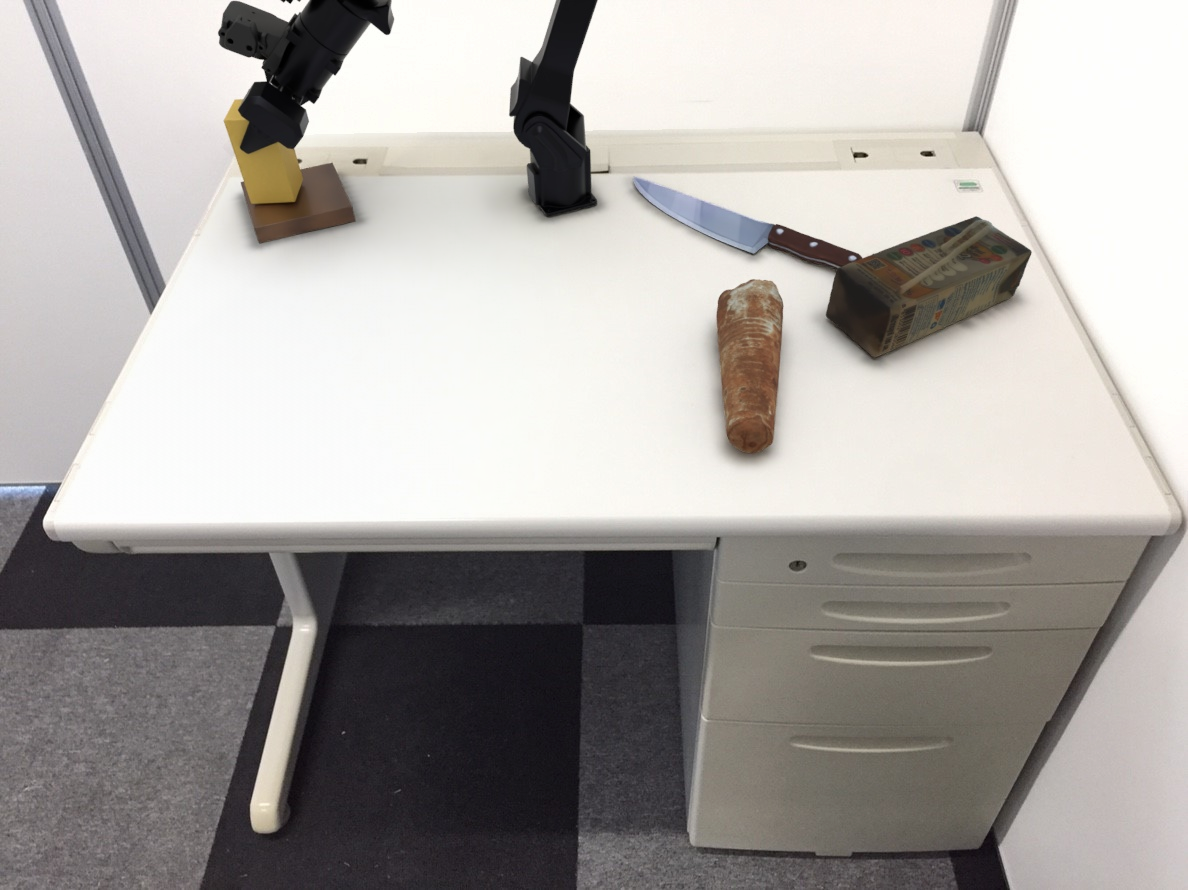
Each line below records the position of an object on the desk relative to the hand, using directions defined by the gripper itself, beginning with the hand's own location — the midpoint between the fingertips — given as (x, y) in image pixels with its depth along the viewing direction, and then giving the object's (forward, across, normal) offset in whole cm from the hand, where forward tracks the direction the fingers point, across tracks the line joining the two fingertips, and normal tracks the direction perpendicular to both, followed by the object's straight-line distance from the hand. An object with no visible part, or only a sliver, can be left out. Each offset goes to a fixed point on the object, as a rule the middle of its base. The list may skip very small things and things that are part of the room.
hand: (249, 138), depth 101 cm
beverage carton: (-42, +24, +56) cm, 74 cm away
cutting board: (+4, 0, +9) cm, 10 cm away
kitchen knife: (-32, +7, +45) cm, 55 cm away
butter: (+4, 0, +6) cm, 7 cm away
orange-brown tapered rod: (-30, +34, +43) cm, 62 cm away
